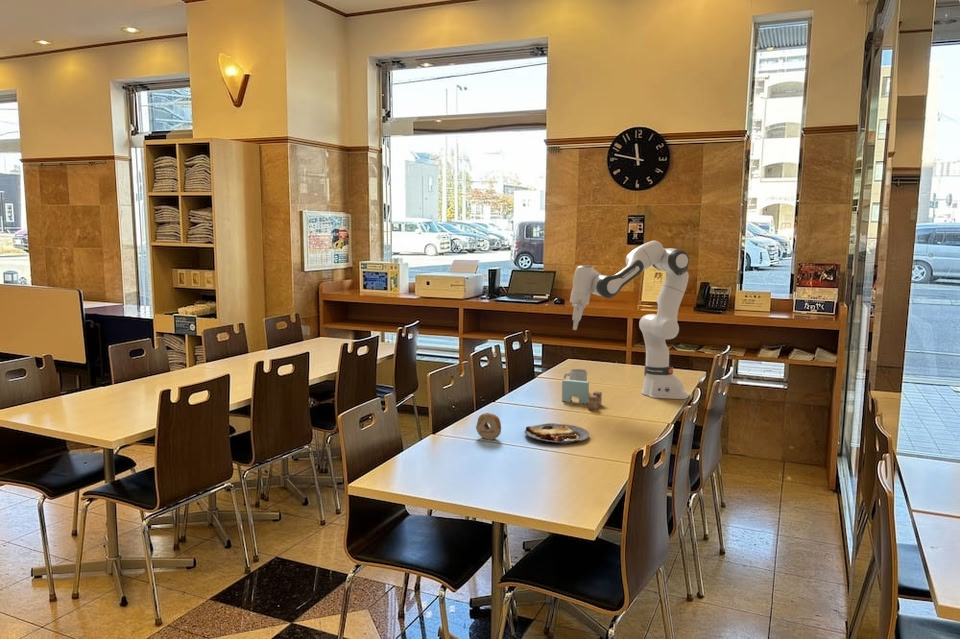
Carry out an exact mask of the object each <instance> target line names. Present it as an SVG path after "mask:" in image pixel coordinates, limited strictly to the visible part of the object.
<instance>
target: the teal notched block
mask: <svg viewBox="0 0 960 639" xmlns="http://www.w3.org/2000/svg"><path fill="white" fill-rule="evenodd" d="M561 385H562V386H561V401H562V402H563V401H566V403H570V401H571V402H573V401H572V399H573V398H572V397H576V398H578V404H583V403H584V405H587V404H588V397H589V396H590V394H589V393H590V392H589V391H590V389H589V388H590V381H588V380H587V381H577V380H570V379H567V378H566V379H564V378H563V380H561Z"/></svg>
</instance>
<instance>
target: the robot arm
mask: <svg viewBox="0 0 960 639" xmlns="http://www.w3.org/2000/svg"><path fill="white" fill-rule="evenodd" d="M689 264H690V257H689V254H688V253H687V252H686V251H685V250H682V249H679V248H670V247H669V248H664V246H663V244H662V243H661V242H660V241H658V240H651V241H648V242H645V243H643V244H641V245H639V246H637V247H636V248H634V249H633V250H630V252H629V253H628V254H627V255H626V257H625V265H626V266H625V267H624V268H623V269H622V270H620V271H619V272H617V273H616V274H613V275H605V274H604V275H603V274H602V273H600V272H598V271H597V270H596V269H595V268H594V266H592V265H589V264H588V265H579V266H577V267H576V269H575V271H574V274H573V280H572V289H571V292H570V297H569V298H570V299H569V303H571V306H572V307H573V312H572V318H571V319H572V320H571V321H573V322H572V323H573V326H572V330H573V331H577V330H578V326H579V322H580V321H581V319H582V316H583V313H584V309H586V306H588V305H589V304H590V299H591V294H593V295H596V296H600V297H603V298H606V299H612V298H614V297H616V296H617V295H618V293H620V291H621V290H622V289H623V287H625V285H627V284H628V283H630V282H632V280H634V279H635V278H636V277H637V276H639V275H640V274H641V273H642V272H644V271H646V270H648V269H650V268H651V267H653V268H654V269H657V270H659V271H663V272H665V278H664V281H663V283H662V285H661V288H660V291H659V293H658V296H657V299H656V304H657V312H656V313H649V314H644V315H643V316H642V317H641V318H640V319H639V323H638V326H639V330H640V332H641V333H642V336H643V340H644V345H645V364H644V370H643V372H644V380H643V386H642V390H641V394H642V395H644V396H648V397H650V398H653V399H675V400H685V399H687V398H689V397H690V393H689V392H688V391H685V390H686V389H685V385H684V382H683V381H682V380H681V379H679V377H677V376H676V375H674V367H673V366H670V349H669V347H668V345H667V343H666V340H672V339H674V338H676V337H677V336H678V334H679V332H680V326H679V323H678V314H679V309H680V306H681V303H682V300H683V299H684V295H685V292H686V290H687V286H688V282H689V278H690V275H689V272H688V269H689Z"/></svg>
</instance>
